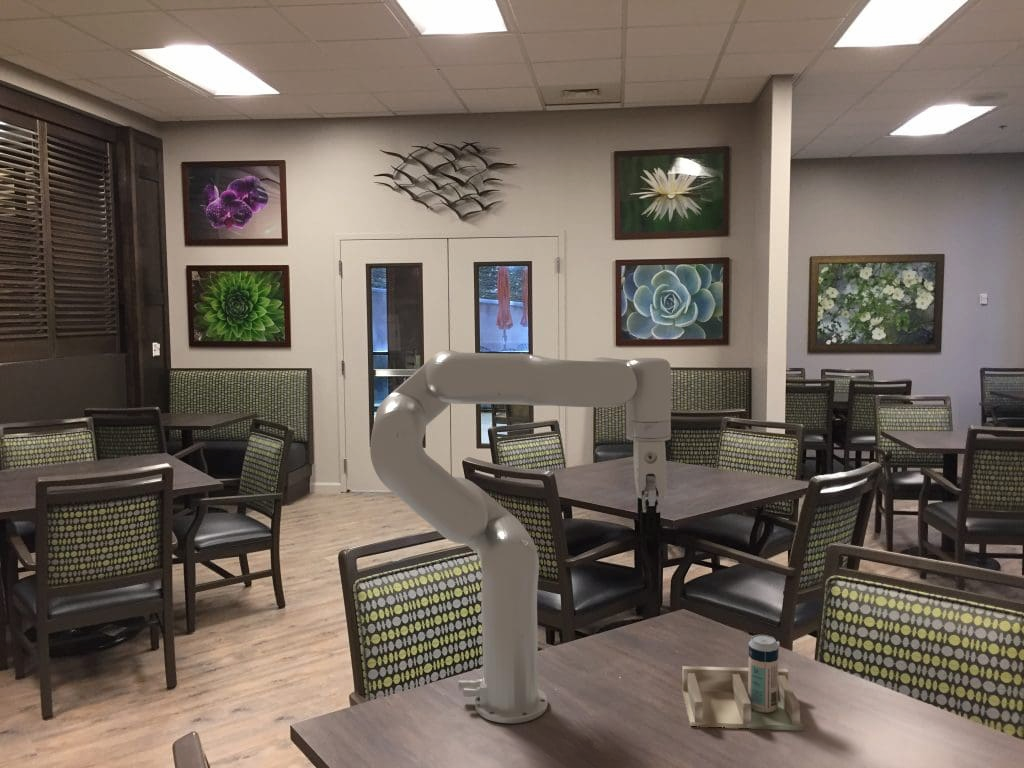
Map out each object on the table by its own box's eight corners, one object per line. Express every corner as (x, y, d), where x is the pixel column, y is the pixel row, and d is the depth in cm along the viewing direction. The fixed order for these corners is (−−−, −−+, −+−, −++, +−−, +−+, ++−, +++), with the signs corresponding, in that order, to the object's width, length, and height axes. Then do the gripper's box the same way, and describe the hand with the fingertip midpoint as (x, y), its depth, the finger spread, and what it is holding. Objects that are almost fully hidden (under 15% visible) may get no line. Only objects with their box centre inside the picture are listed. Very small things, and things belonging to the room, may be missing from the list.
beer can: (775, 702, 138) (776, 634, 137) (779, 716, 133) (780, 646, 132) (746, 699, 139) (747, 632, 138) (749, 713, 134) (750, 644, 133)
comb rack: (690, 726, 132) (690, 698, 132) (682, 691, 144) (682, 666, 144) (804, 730, 130) (804, 702, 130) (786, 694, 142) (786, 668, 142)
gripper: (675, 438, 130) (675, 542, 132) (665, 422, 147) (665, 514, 149) (628, 438, 131) (629, 541, 132) (624, 422, 148) (624, 514, 150)
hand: (648, 527), depth 141 cm, fingers open, 9 cm apart
